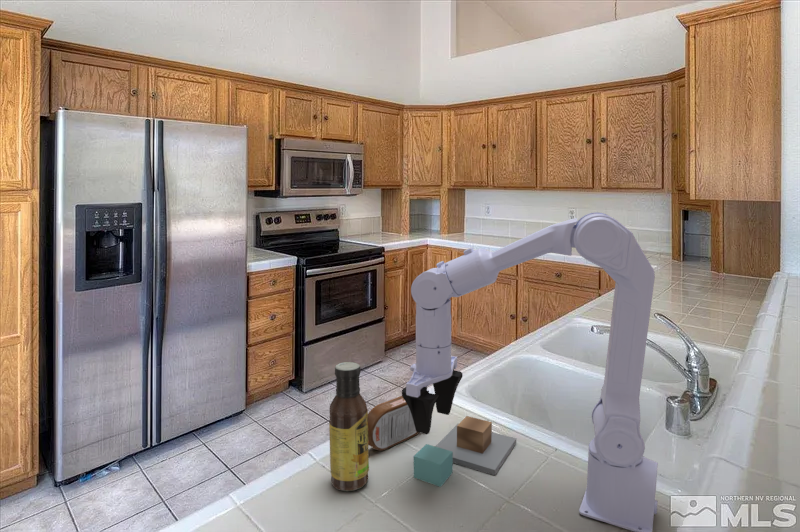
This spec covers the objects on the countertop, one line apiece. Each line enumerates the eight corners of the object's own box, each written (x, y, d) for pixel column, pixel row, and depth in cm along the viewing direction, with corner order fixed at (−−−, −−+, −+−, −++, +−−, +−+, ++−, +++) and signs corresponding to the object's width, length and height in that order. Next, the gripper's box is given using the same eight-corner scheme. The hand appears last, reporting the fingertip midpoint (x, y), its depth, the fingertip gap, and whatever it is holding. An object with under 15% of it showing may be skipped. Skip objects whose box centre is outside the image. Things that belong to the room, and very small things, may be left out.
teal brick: (452, 473, 80) (452, 451, 80) (440, 487, 77) (440, 464, 76) (426, 465, 83) (426, 443, 82) (413, 478, 79) (413, 456, 79)
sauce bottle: (366, 494, 75) (363, 374, 72) (327, 493, 75) (323, 373, 72) (371, 471, 81) (369, 359, 78) (335, 470, 82) (331, 359, 79)
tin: (419, 425, 97) (419, 386, 96) (430, 431, 95) (430, 391, 93) (360, 452, 87) (359, 409, 86) (371, 459, 85) (370, 415, 84)
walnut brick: (491, 442, 88) (491, 422, 88) (482, 453, 84) (482, 432, 84) (466, 435, 91) (466, 415, 90) (456, 446, 87) (456, 425, 86)
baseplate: (516, 443, 90) (516, 438, 90) (494, 475, 80) (494, 469, 79) (457, 428, 96) (457, 423, 96) (430, 456, 86) (430, 451, 85)
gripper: (431, 328, 85) (431, 400, 87) (388, 351, 72) (389, 435, 74) (468, 334, 81) (467, 409, 83) (429, 359, 69) (429, 446, 71)
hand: (433, 422), depth 78 cm, fingers open, 7 cm apart
